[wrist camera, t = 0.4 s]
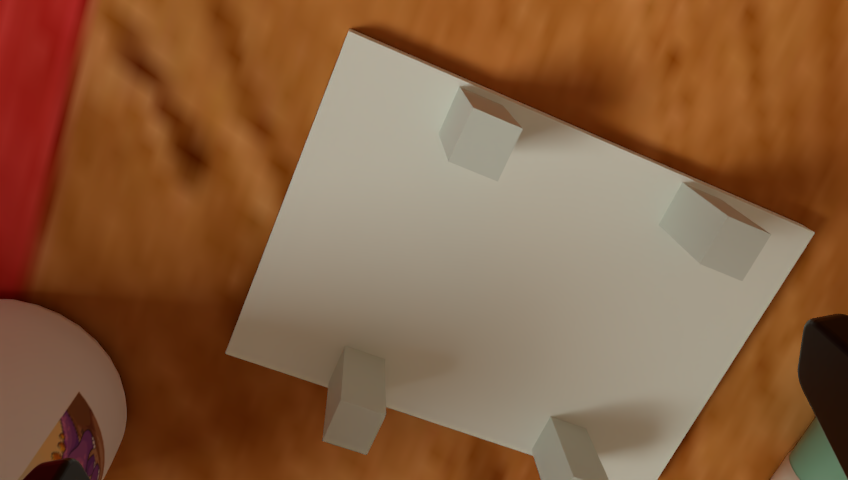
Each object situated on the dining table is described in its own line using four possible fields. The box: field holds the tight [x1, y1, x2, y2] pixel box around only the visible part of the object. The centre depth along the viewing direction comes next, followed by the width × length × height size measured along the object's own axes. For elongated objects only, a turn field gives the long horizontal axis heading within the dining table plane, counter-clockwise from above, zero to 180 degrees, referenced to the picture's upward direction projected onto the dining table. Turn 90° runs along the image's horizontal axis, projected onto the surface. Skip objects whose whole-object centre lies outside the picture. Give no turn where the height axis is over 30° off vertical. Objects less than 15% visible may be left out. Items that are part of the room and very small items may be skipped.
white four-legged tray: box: [225, 28, 815, 480], centre depth 23 cm, size 16×11×4 cm
